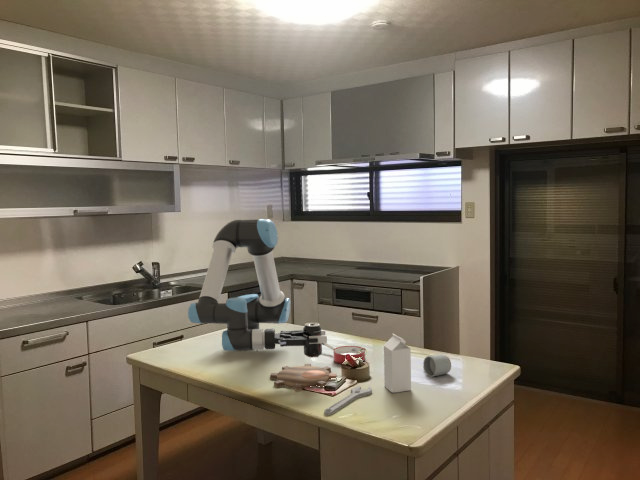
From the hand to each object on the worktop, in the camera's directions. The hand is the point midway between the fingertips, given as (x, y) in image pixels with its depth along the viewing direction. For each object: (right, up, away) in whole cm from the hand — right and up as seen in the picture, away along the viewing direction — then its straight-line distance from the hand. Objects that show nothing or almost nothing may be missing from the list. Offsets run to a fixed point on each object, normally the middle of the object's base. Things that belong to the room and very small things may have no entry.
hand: (325, 336), depth 197 cm
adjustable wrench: (+7, -18, -21) cm, 29 cm away
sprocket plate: (-9, -16, +2) cm, 18 cm away
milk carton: (+25, -16, -11) cm, 32 cm away
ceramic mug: (+41, -15, +3) cm, 44 cm away
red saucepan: (+3, -14, +29) cm, 32 cm away
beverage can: (-5, -7, 0) cm, 9 cm away
